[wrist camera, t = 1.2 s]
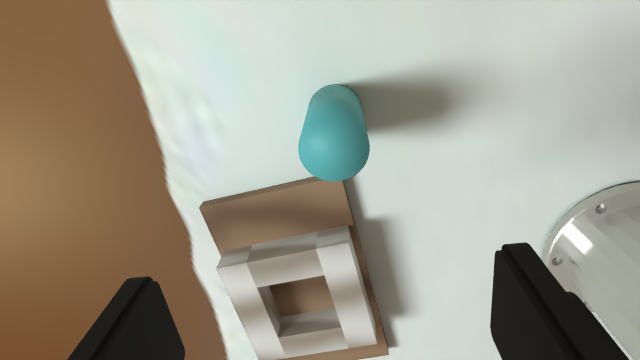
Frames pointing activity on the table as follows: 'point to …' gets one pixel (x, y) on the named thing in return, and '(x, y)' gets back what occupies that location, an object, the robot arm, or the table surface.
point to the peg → (334, 135)
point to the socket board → (288, 222)
